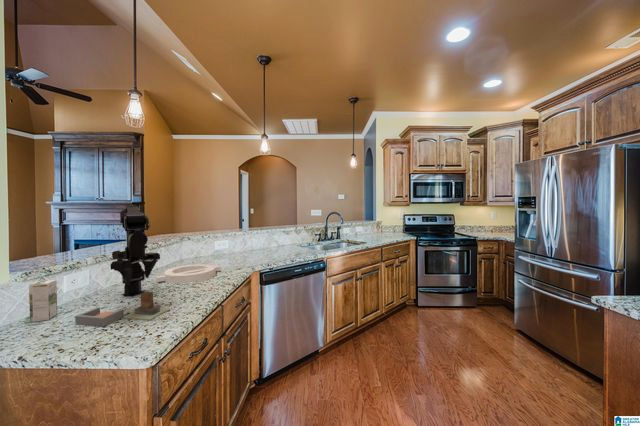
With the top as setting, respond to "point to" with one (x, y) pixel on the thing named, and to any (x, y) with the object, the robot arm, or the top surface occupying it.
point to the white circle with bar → (189, 273)
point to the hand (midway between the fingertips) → (137, 281)
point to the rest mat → (145, 317)
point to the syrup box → (43, 300)
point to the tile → (104, 314)
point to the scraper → (147, 305)
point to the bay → (98, 318)
